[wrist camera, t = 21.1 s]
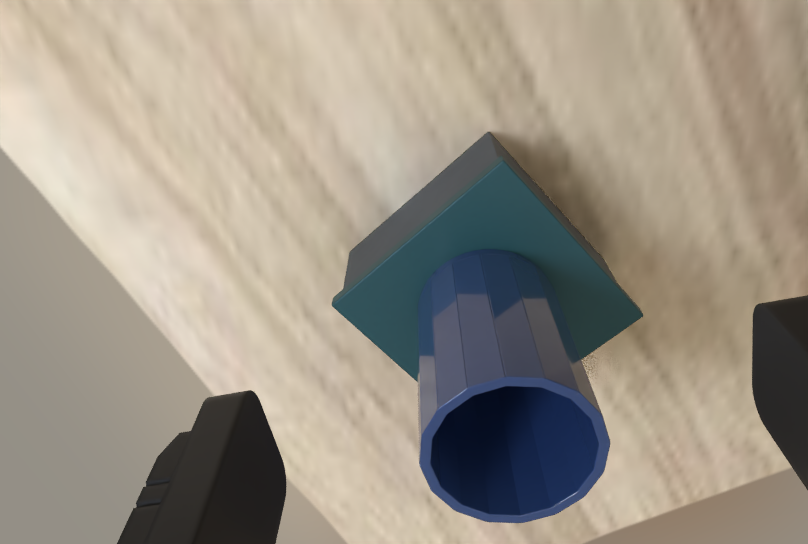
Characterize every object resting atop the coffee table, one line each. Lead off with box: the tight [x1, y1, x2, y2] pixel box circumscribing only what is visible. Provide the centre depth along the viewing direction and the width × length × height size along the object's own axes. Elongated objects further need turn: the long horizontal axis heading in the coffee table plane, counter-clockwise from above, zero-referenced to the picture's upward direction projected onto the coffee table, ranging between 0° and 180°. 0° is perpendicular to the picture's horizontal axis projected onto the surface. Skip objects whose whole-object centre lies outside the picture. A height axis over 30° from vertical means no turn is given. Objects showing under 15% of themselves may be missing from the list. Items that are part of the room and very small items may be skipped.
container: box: [332, 132, 643, 382], centre depth 36 cm, size 11×11×6 cm
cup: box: [417, 249, 610, 523], centre depth 29 cm, size 7×7×10 cm
